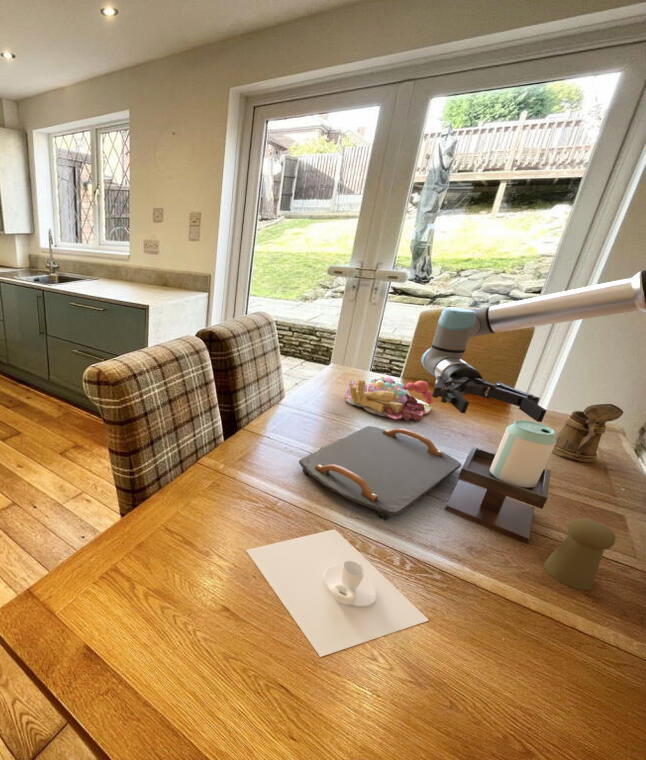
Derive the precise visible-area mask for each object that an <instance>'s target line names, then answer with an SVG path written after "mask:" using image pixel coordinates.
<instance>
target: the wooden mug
mask: <svg viewBox="0 0 646 760" xmlns="http://www.w3.org/2000/svg"><path fill="white" fill-rule="evenodd" d="M623 414H624V411H623V409H621V408H620V407H618V406H617V405H615V404H613V403H601V404H593V405H589V406H587V407H585V409H584V410H583V411H582V410H574V411H572V413H571V414H570V415H568V416H567V417H566V419H565V422H564V423H563V425H562V426H561V428H560V429H559V431H557V433H556V435H554V436H555V438H556V441H557V442H556V444H555V446H554V449H553V451H552V453H553V454H555V455H556V456H559V457H562V458H564V459H566V460H570V461H575V462H578V463H579V462H580V463H584V464H585V463H586V464H587V463H588V464H589V463H591V464H592V463H595V461H596V460H597V458H598V454H597V451H598V448H599V445H600V442H601V438H602V435H603V434H605V433H606V428H607V425H606V423H607V422H613V421H615V420H618V419H620V418H621V417H622V416H623Z"/></svg>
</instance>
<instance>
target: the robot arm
mask: <svg viewBox="0 0 646 760" xmlns="http://www.w3.org/2000/svg"><path fill="white" fill-rule="evenodd" d="M637 311H638V312H639V311H640V312H644V313H646V269H644V270H640V271H639V272H637V273H636V274H635V275H633V276H631V277H628V278H623V279H618V280H613V281H609V282H603V283H600V284H595V285H588V286H584V287H580V288H579V287H578V288H575V289H569V290H565V291H560V292H555V293H550V294H545V295H540V296H536V297H531V298H526V299H521V300H516V301H511V302H506V303H501V304H496V305H491V306H487V307H482V308H477V309H476V308H474V309H471V308H463V307H446V308H444V309H443V310H442V311H441V314H440V315H439V318H438V320H437V326H436V329H435V330H436V331H435V333H434V336H433V339H432V340H433V341H432V343H431V346H430V348H428V349H427V350H425V352H423V354H422V355H421V359H420V360H421V361H420V362H421V366H423V368H424V369H425V371H426V372H427V373H428V374H430V375H431V376H433V377H434V378H435V379H436V380H435V383H434V388H433V390H432V397H431V398H434V399H437V398H439V397H440V398H441V399H440V402H441V403H444V404H447V403H449V404H451V405H452V406H453V407H454V408H455V409H456V410H457V411H458V412H460V413H461V414H466V412H467V409H468V407H469V405H470V401H469V400H468V399H466V398H465V397H464V396H467V395H474V396H480V397H482V398H485V399H495V400H496V401H497V400H498V401H500V402H503V403H507V404H510V405H512V406H516V407H518V409H519V410H520V411H522V412H523V413H524V414H526V415H527V416H528V417H530V418H532V420H534V422H536V423H543V420H544V418H545V415H546V413H547V411H548V410H547V409H545V408H543V407H542V406H541V405H539V402H540V400H541V397H538V396H537V395H534V394H530V393H528V392H525V391H523V390H520V389H517V388H514V387H512V386H509V385H507V384H505V383H503V382H501V381H495V383H492V382H488V381H485V380H484V379H483V376H482V374H481V372H480V371H479V370H477V369H476V368H475V367H473V366H472V365H470V363H467V362H466V361H464V360H463V357H464V354H465V352H466V348H467V345H468V343H469V340H470V339H473V338H475V337H479V336H485V335H492V334H497V333H503V332H504V333H505V332H510V331H515V330H516V331H517V330H522V329H529V328H534V327H535V328H536V327H542V326H547V325H548V326H549V325H554V324H555V325H556V324H562V323H567V322H573V321H580V320H585V319H586V320H587V319H593V318H599V317H605V316H612V315H617V314H618V315H619V314H625V313H630V312H637Z"/></svg>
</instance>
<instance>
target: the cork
mask: <svg viewBox="0 0 646 760" xmlns="http://www.w3.org/2000/svg"><path fill="white" fill-rule="evenodd" d="M567 532H568V535H567V536H566V537H565V538H564V539H563V540H562V541H561V543H560V544H559V545H558V547H557V548H555V550H553V552H552V553H551V554H550V556H549V557H548V558H547V559H546V560H545V561H544V563H543V568H544V570H545V571H546V573H548V574H549V575H550V576H551V577H552V578H554V579H555V580H557V581H558V582H560V583H562V584H563V585H565V586H568V587H571V588H573V589H576V590H580V591H581V590H582V591H589V590H591V589H593V587H594V586H593V585H594V583H595V579H596V577H597V573H598V570H599V567H600V564H601V560H602V558H603V555H604V552H605V550H609V549H611V548H612V547H613V546H614V545H615V543H616V535H615V533H614V531H613V530H611V528H609V527H608V526H606V525H604V524H603V523H600V522H599V521H596V520H592V519H590V518H583V517H581V518H580V517H579V518H575V519H572V520H571V521H570V522H569V524H568V525H567Z"/></svg>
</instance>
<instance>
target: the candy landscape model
mask: <svg viewBox="0 0 646 760" xmlns="http://www.w3.org/2000/svg"><path fill="white" fill-rule="evenodd" d="M369 382H370V383H369V384H366V380H357V382H356V378H354V379H353V381H352V379H349V381H348V387H347V389H346V391H345V396H344V398H346V402H347V403H349V404H350V405H353V406H357V407H359V408H363V409H364V410H366V412H368V413H371V414H373V415H377V416H382V417H388V418H391V419H393V420H400V419H403V420H405V421H406V422H408V421H409V420H410V419H413V420H415V421H419V420H420V419H422V417H423V416H424V415H427V414H429V413H430V412H431V410H432V406H433V404H434V400H433V399H432V398H433V397H432V394H433V391H431V390H429V388H430V387H429V384H428V382H427V381H424V380H418V381H415V383H414V382H407V383H406V384H405V385H404V384H403V383H402V382H399V381H396V382H395V380H394V378H393V377H391V376H384V375H380V376H379V377H372V378H370V380H369ZM409 391H411V392H412V391H415V392H416V393H418V394H421V396H422V398H423V399H425V401H423V400H420V399H418V398H415V397H414V396H412V395H411V393H410V392H409Z"/></svg>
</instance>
